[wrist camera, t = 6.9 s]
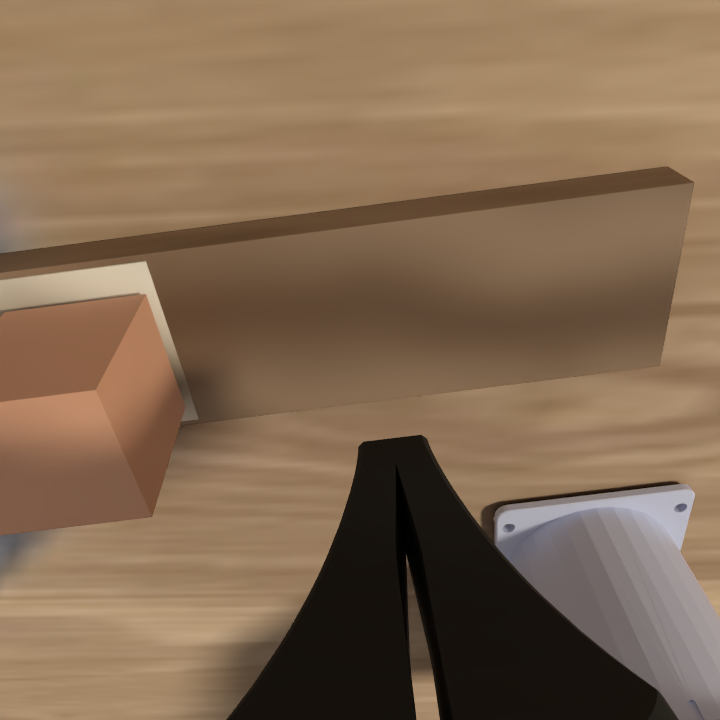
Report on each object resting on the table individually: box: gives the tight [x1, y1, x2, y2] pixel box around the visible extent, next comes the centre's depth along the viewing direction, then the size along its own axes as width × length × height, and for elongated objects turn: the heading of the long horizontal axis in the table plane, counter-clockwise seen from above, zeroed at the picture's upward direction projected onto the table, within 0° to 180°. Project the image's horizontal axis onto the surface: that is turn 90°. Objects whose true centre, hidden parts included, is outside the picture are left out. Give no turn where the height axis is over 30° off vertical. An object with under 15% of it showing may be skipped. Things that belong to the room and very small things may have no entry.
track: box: [0, 167, 694, 426], centre depth 19 cm, size 6×22×2 cm, turn 97°
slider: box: [0, 294, 185, 535], centre depth 16 cm, size 4×4×4 cm
